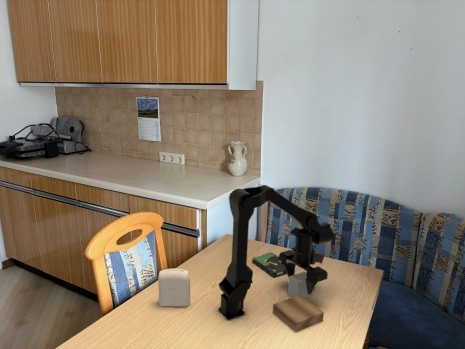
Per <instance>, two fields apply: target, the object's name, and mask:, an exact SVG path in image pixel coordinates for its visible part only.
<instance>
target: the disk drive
mask: <svg viewBox="0 0 465 349" xmlns="http://www.w3.org/2000/svg"><path fill="white" fill-rule="evenodd" d="M251 262H252V264H254V265H255V266H257V267H258V268H259V269H260V270H262V271H264V272H265V273H266V274H268V275H269V276H270V277H272V279H273V278H274V279H275V278H278V277H283V276H285V275H287V273H286V271H285V269H284V267H283V265H282V264H281V261H280V260H279V255H277V254H275V253H273V252H268V253H265V254H261V255H257V256H256V257H255V256H254V257H253V258H252V259H251Z"/></svg>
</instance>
